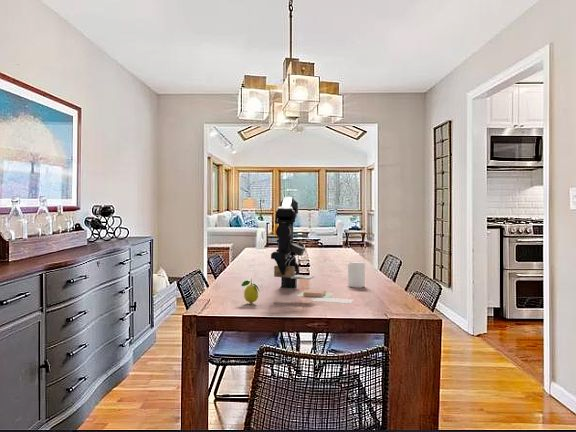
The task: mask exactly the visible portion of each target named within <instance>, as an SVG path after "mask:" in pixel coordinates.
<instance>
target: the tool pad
mask: <svg viewBox="0 0 576 432" xmlns="http://www.w3.org/2000/svg"><path fill="white" fill-rule="evenodd" d="M354 300H355V299H350V298H348V299H347V298H337V297H335V298H333V297H329V298H319V297H314V299H312V302H313V301H314V302H327V303H340V304H341V303H342V304H352V303H353V302H354Z"/></svg>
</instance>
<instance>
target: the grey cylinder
mask: <svg viewBox="0 0 576 432" xmlns="http://www.w3.org/2000/svg"><path fill="white" fill-rule="evenodd" d="M347 265H348V266H347V286H348V287H350V288H353V289H354V288H356V289H360V288H363V287H365V286H366V281H365V280H366V264H365V262H364V261H360V260H351V261H348V264H347Z"/></svg>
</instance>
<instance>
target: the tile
mask: <svg viewBox="0 0 576 432" xmlns="http://www.w3.org/2000/svg"><path fill="white" fill-rule="evenodd" d="M304 291H305V292H303V291H302V292H303V296H312V297H311V298H316V297H322V296H324V295H325V294H326V293H327V290H324V289H313V288H312V289H309V288H308V289H305V290H304ZM303 296H302V297H303Z"/></svg>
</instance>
